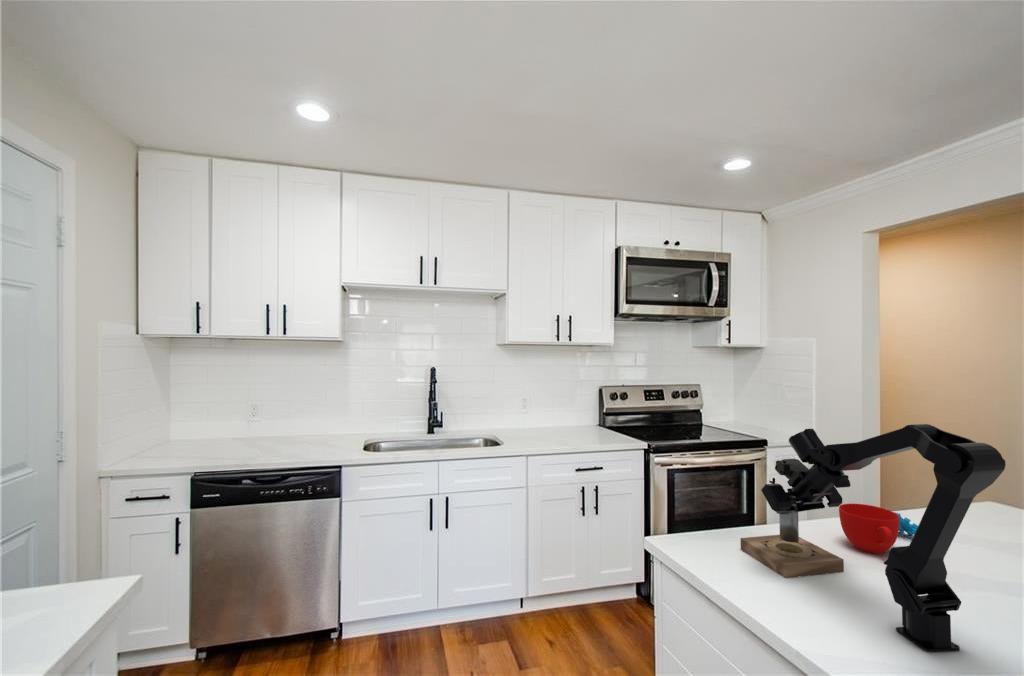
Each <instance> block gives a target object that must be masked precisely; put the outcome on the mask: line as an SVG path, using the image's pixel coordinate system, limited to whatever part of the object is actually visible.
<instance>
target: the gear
mask: <svg viewBox="0 0 1024 676" xmlns="http://www.w3.org/2000/svg"><path fill="white" fill-rule="evenodd" d="M894 513H896V514H898V516H899V531H898V532H900V533H904V532H906V533H907V535H909V536H911V537H913V536H914V534H915V532H916V530H917V528H918V525H917V523H914V522H913V523H912V524H911V523H910V522H911V519H910V518H908V517H905V516H904V518H903V517H902V516H901V515H902V514H900V513H899V512H897V511H896V512H895V511H894Z"/></svg>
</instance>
